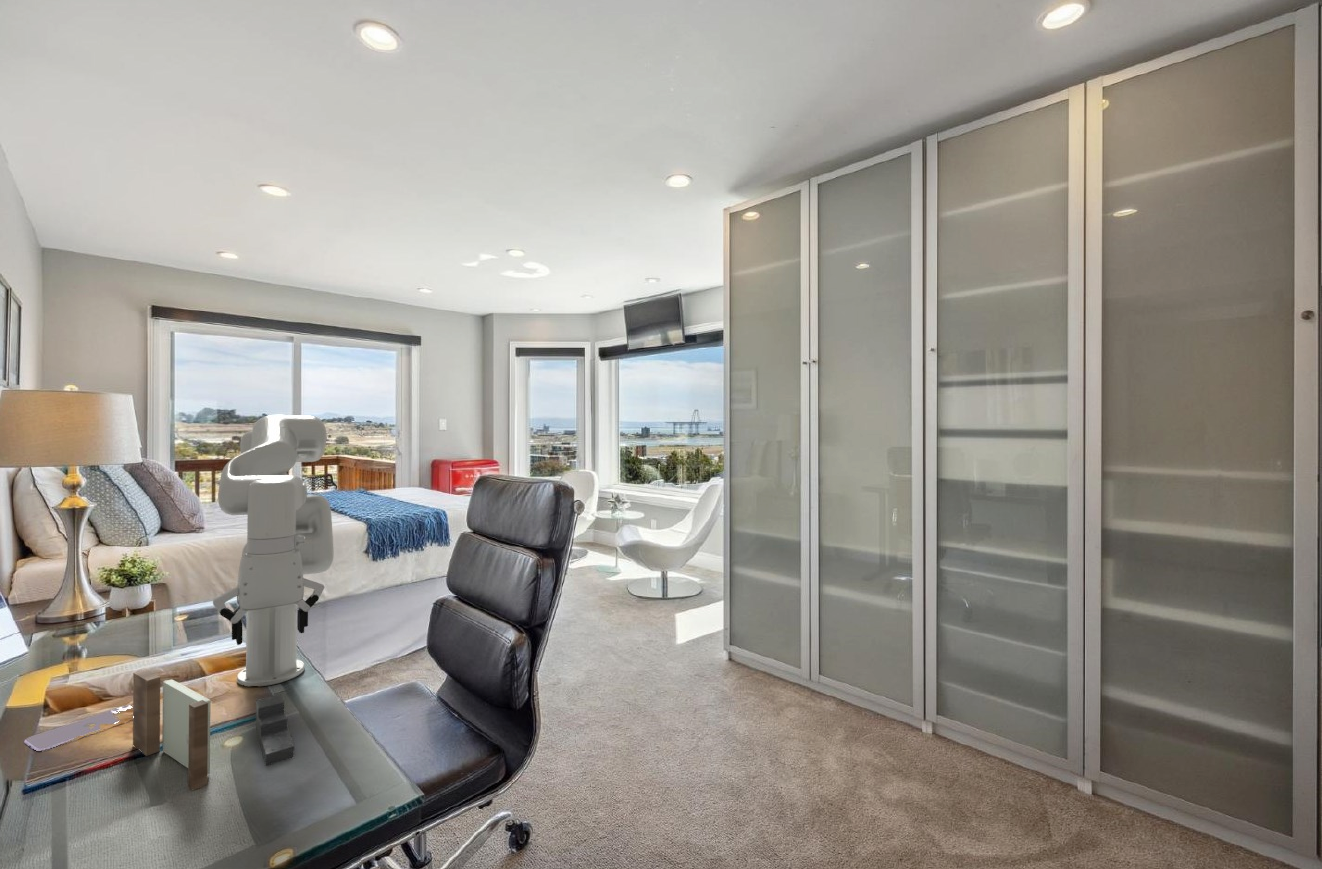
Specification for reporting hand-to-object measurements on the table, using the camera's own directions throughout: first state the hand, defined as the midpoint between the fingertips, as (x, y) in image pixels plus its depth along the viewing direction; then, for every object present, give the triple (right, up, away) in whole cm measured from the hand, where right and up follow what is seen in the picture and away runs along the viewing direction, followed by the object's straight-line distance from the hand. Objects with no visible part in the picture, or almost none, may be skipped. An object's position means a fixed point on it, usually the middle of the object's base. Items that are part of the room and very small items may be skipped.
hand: (270, 636), depth 108 cm
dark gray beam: (+3, -17, -4) cm, 18 cm away
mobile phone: (-33, -17, -1) cm, 37 cm away
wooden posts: (-9, -17, -12) cm, 23 cm away
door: (-7, -17, -12) cm, 22 cm away
